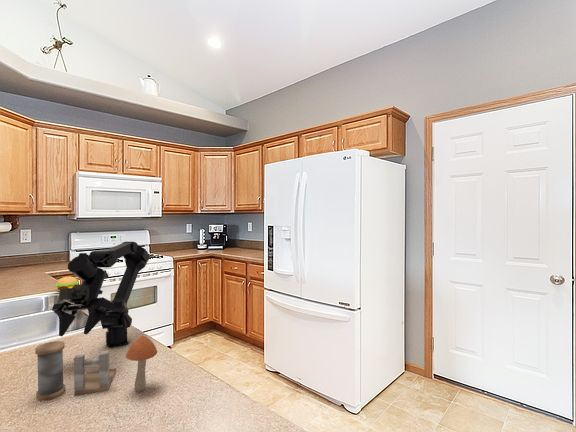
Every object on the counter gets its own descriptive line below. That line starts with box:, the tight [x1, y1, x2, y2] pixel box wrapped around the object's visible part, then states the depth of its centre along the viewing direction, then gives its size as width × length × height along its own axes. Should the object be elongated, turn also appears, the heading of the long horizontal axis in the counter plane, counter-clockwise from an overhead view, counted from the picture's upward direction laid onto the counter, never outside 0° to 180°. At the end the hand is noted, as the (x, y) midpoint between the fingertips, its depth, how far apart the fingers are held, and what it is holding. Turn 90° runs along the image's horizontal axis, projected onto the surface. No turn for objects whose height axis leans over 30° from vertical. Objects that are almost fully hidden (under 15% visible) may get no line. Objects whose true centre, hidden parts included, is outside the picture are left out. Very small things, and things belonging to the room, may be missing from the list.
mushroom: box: [125, 334, 158, 393], centre depth 90 cm, size 8×8×15 cm
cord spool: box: [34, 340, 66, 402], centre depth 88 cm, size 6×6×13 cm
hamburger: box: [55, 275, 80, 292], centre depth 203 cm, size 12×12×9 cm
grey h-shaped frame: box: [73, 350, 117, 397], centre depth 94 cm, size 11×8×10 cm
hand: (72, 335), depth 98 cm, fingers open, 9 cm apart
